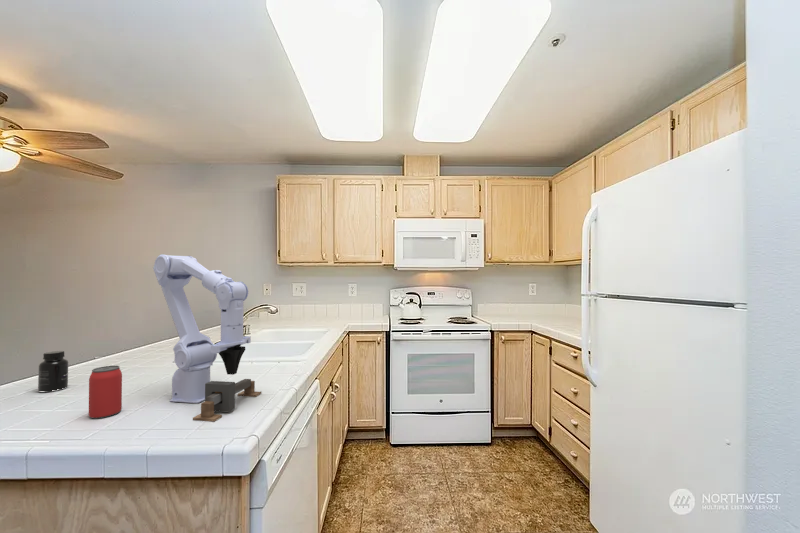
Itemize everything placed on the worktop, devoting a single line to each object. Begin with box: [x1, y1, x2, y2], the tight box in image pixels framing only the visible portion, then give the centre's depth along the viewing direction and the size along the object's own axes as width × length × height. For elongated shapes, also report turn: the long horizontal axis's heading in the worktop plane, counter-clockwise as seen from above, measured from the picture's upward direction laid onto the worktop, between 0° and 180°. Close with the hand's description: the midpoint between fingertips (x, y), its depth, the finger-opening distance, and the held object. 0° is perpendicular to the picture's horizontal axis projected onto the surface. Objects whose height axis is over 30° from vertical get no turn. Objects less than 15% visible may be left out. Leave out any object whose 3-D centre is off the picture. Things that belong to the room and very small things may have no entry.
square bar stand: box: [192, 378, 262, 422], centre depth 95 cm, size 6×20×5 cm, turn 170°
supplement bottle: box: [37, 350, 69, 392], centre depth 112 cm, size 7×7×12 cm
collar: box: [204, 380, 236, 413], centre depth 91 cm, size 7×2×7 cm, turn 80°
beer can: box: [88, 365, 123, 419], centre depth 91 cm, size 7×7×12 cm
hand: (231, 373), depth 96 cm, fingers closed
